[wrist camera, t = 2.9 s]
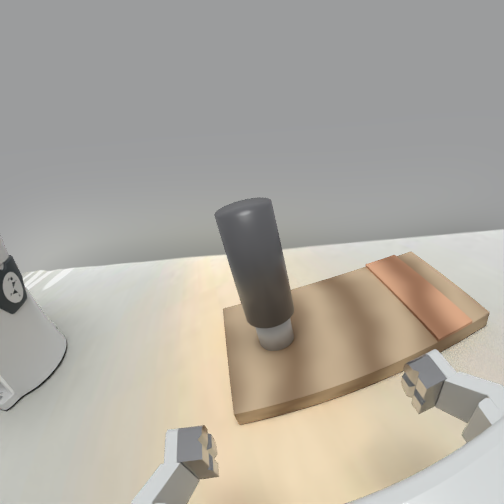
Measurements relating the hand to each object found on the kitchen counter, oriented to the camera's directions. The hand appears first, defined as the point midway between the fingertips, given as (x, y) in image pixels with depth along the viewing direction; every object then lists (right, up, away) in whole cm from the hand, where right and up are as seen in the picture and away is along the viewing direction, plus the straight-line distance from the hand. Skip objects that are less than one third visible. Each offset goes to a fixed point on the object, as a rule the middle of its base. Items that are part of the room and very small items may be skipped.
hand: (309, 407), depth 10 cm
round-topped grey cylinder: (0, -2, +15) cm, 15 cm away
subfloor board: (+7, -1, +16) cm, 17 cm away
